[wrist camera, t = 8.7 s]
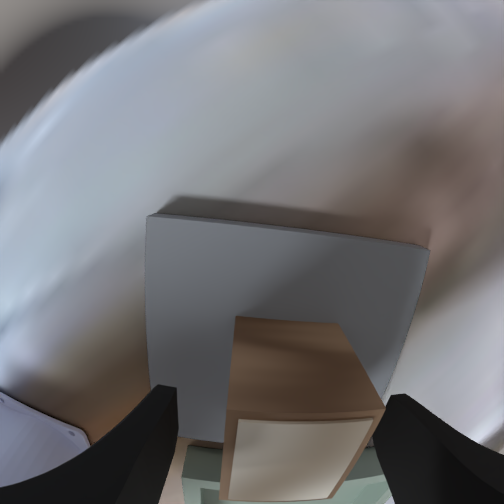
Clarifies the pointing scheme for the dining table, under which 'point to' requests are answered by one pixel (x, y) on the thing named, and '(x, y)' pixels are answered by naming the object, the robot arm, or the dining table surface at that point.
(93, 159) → the dining table surface
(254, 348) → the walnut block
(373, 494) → the bin
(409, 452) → the robot arm
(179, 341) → the slate mat
